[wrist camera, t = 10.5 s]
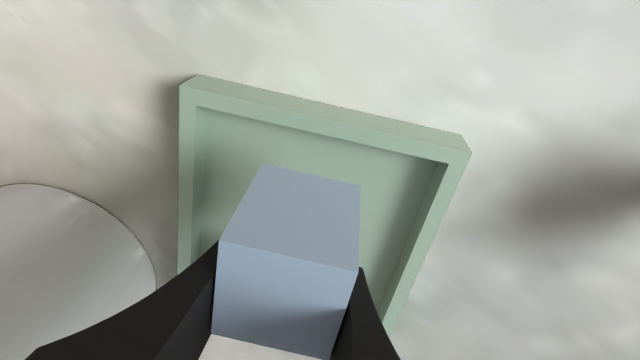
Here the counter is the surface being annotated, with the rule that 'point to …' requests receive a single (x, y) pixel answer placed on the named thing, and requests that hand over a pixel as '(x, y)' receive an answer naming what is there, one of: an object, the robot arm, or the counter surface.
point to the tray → (316, 173)
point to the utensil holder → (62, 267)
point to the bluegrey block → (288, 262)
